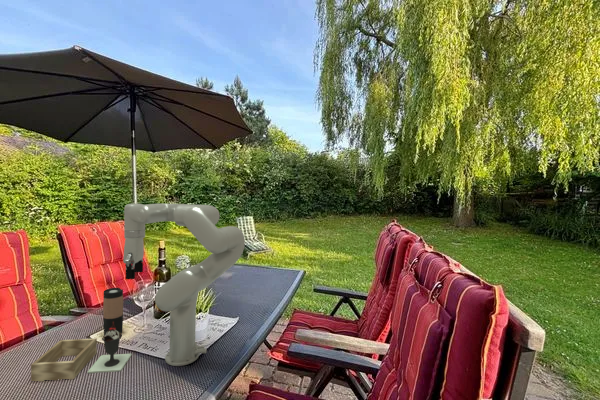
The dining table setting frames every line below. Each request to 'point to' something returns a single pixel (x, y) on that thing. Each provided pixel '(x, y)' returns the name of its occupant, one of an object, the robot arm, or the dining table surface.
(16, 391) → the dining table surface
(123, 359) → the mat
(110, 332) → the sundae
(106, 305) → the travel mug
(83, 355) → the crate
